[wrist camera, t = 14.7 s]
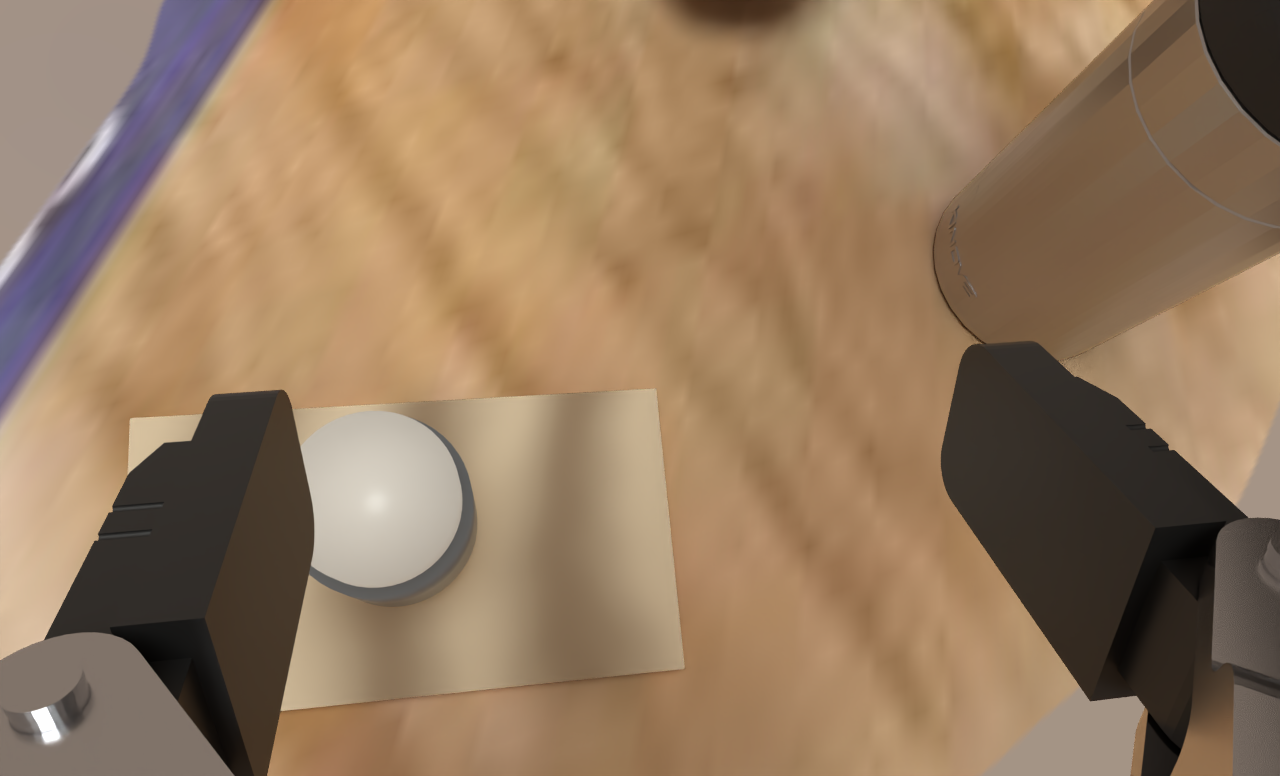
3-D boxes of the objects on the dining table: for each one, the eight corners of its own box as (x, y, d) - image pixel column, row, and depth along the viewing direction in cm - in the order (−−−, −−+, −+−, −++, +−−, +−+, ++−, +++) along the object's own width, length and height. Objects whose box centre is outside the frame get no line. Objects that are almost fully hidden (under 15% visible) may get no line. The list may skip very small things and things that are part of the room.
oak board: (652, 394, 40) (656, 388, 39) (680, 668, 37) (684, 668, 36) (139, 424, 37) (130, 418, 36) (128, 725, 34) (117, 728, 33)
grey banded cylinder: (476, 456, 37) (466, 396, 28) (482, 603, 36) (474, 586, 27) (326, 465, 36) (270, 405, 28) (327, 616, 35) (267, 603, 26)
